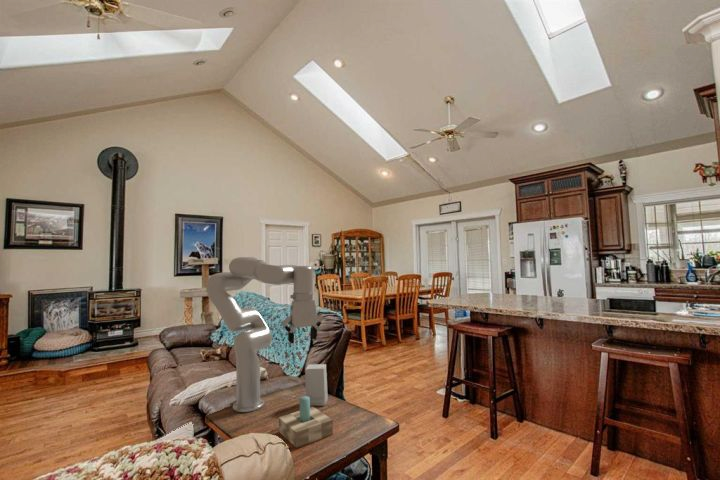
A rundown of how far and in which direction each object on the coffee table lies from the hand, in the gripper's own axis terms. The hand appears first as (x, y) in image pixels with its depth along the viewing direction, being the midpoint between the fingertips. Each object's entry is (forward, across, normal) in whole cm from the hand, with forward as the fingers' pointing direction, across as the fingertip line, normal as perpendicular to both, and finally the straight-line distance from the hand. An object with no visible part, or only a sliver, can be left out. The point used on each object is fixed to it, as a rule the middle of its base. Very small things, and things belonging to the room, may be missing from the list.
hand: (302, 340), depth 136 cm
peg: (+29, -5, -12) cm, 32 cm away
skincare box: (+30, +11, +8) cm, 33 cm away
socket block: (+29, -5, -12) cm, 32 cm away
